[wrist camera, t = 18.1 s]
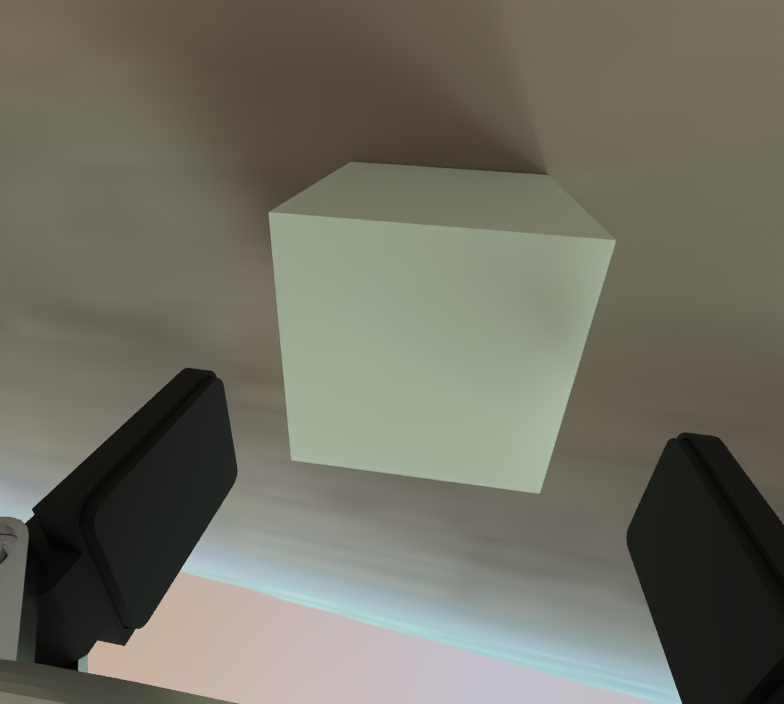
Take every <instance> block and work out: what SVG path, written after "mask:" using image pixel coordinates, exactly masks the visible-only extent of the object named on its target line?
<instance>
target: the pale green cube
mask: <svg viewBox="0 0 784 704" xmlns="http://www.w3.org/2000/svg"><path fill="white" fill-rule="evenodd" d="M268 213H269V224H270V235H271V246H272V257H273V267H274V278H275V289H276V300H277V311H278V322H279V332H280V343H281V354H282V365H283V376H284V386H285V397H286V408H287V419H288V430H289V440H290V451H291V460H293V461H301V462H308V463H316V464H323V465H331V466H338V467H345V468H353V469H360V470H368V471H375V472H382V473H390V474H397V475H405V476H412V477H419V478H427V479H434V480H442V481H449V482H457V483H464V484H471V485H479V486H486V487H494V488H501V489H508V490H516V491H523V492H531V493H538V494H540V492H541V488H542V485H543V482H544V478H545V475H546V472H547V468H548V465H549V462H550V458H551V455H552V452H553V448H554V445H555V442H556V439H557V435H558V432H559V429H560V425H561V422H562V419H563V415H564V412H565V409H566V405H567V402H568V399H569V395H570V392H571V389H572V385H573V382H574V379H575V376H576V372H577V369H578V366H579V362H580V359H581V356H582V352H583V349H584V346H585V342H586V339H587V336H588V332H589V329H590V326H591V322H592V319H593V316H594V313H595V309H596V306H597V303H598V299H599V296H600V293H601V289H602V286H603V283H604V279H605V276H606V273H607V269H608V266H609V263H610V259H611V256H612V253H613V250H614V246H615V243H616V239H614V238H613V237H612V236H611V235H610V234H609V233H608V232H607V231H606V230H605V229H604V228H603V227H602V226H601V225H600V224H599V223H598V222H597V221H596V220H595V219H594V218H593V217H592V216H591V215H590V214H589V213H588V212H587V211H586V210H584V209H583V208H582V207H581V206H580V205H579V204H578V203H577V202H576V201H575V200H574V199H573V198H572V197H571V196H570V195H569V194H568V193H567V192H566V191H565V190H564V189H563V188H562V187H561V186H560V185H559V184H558V183H557V182H556V181H554V180H553V179H552V178H551V177H550V176H549V175H540V174H526V173H511V172H497V171H482V170H467V169H453V168H438V167H424V166H409V165H394V164H380V163H365V162H349V163H348V164H346V165H344V166H343V167H341V168H339V169H338V170H336V171H335V172H333V173H331V174H330V175H328V176H326V177H325V178H323V179H322V180H320V181H318V182H317V183H315V184H313V185H312V186H310V187H308V188H307V189H305V190H304V191H302V192H300V193H299V194H297V195H295V196H294V197H292V198H291V199H289V200H287V201H286V202H284V203H282V204H281V205H279V206H278V207H276V208H274V209H273V210H271V211H269V212H268Z"/></svg>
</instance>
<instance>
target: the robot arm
mask: <svg viewBox="0 0 784 704" xmlns="http://www.w3.org/2000/svg"><path fill="white" fill-rule="evenodd" d="M236 477H237V463H236V457H235V451H234V445H233V439H232V433H231V427H230V421H229V415H228V409H227V403H226V397H225V391H224V385H223V382H222V380H221V379H219V378H217V377H216V374H215V373H214V372H213V371H209V370H201V369H193V368H185V369H183V370H182V371H181V372H180V373H179V374H178V375H176V376H175V377H174V378H173V379H172V380H171V381H170V382H169V383H168V384H167V385H166V386H165V387H163V388H162V389H161V390H160V391H159V392H158V393H157V394H156V395H155V396H154V397H153V398H152V399H150V400H149V401H148V402H147V403H146V404H145V405H144V406H143V407H142V408H141V409H140V410H139V411H138V412H136V413H135V414H134V415H133V416H132V417H131V418H130V419H129V420H128V421H127V422H126V423H125V424H123V425H122V426H121V427H120V428H119V429H118V430H117V431H116V432H115V433H114V434H113V435H112V436H110V437H109V438H108V439H107V440H106V441H105V442H104V443H103V444H102V445H101V446H100V447H99V448H97V449H96V450H95V451H94V452H93V453H92V454H91V455H90V456H89V457H88V458H87V459H86V460H84V461H83V462H82V463H81V464H80V465H79V466H78V467H77V468H76V469H75V470H74V471H73V472H72V473H70V474H69V475H68V476H67V477H66V478H65V479H64V480H63V481H62V482H61V483H60V484H59V485H57V486H56V487H55V488H54V489H53V490H52V491H51V492H50V493H49V494H48V495H47V496H46V497H44V498H43V499H42V500H41V501H40V502H39V503H38V504H37V505H36V506H35V507H34V508H33V509H32V510H33V512H34V514H35V515H34V516H33V517H32V518H31V519H30V520H28V521H27V522H26V523H25V524H24V523H23V522H22V521H21V520H19V519H16V518H12V517H0V704H237V703H232V702H228V701H223V700H218V699H213V698H209V697H204V696H199V695H194V694H190V693H185V692H180V691H175V690H171V689H166V688H160V687H156V686H152V685H147V684H142V683H137V682H133V681H127V680H122V679H117V678H111V677H106V676H101V675H96V674H90V673H88V663H87V662H88V659H87V654H88V653H89V651H90V650H91V649H92V647H93V646H94V644H95V643H96V641H97V640H98V641H103V642H108V643H113V644H118V645H122V646H125V645H126V643H127V642H128V640H129V638H130V637H131V635H132V634H133V632H134V631H135V629H140V628H142V627H143V626H144V625H145V624H146V623H147V622H148V620H149V619H150V618H151V616H152V615H153V613H154V611H155V610H156V608H157V606H158V605H159V603H160V602H161V600H162V598H163V597H164V595H165V594H166V592H167V590H168V589H169V587H170V586H171V584H172V582H173V581H174V579H175V578H176V576H177V574H178V573H179V571H180V570H181V568H182V566H183V565H184V563H185V562H186V560H187V558H188V557H189V555H190V554H191V552H192V550H193V549H194V547H195V546H196V544H197V542H198V541H199V539H200V538H201V536H202V534H203V533H204V531H205V530H206V528H207V526H208V525H209V523H210V522H211V520H212V518H213V517H214V515H215V514H216V512H217V510H218V509H219V507H220V506H221V504H222V502H223V501H224V499H225V498H226V496H227V494H228V493H229V491H230V490H231V488H232V486H233V485H234V483H235V480H236ZM627 546H628V549H629V552H630V555H631V558H632V561H633V564H634V567H635V569H636V572H637V575H638V578H639V581H640V584H641V587H642V590H643V592H644V595H645V598H646V601H647V604H648V607H649V610H650V613H651V615H652V618H653V621H654V624H655V627H656V630H657V633H658V636H659V638H660V641H661V644H662V647H663V650H664V653H665V656H666V659H667V661H668V664H669V667H670V670H671V673H672V676H673V679H674V682H675V685H676V687H677V690H678V693H679V696H680V699H681V702H682V704H784V525H783V524H782V522H781V521H780V520H779V518H778V517H777V515H776V514H775V513H774V511H773V510H772V509H771V507H770V506H769V505H768V503H767V502H766V500H765V499H764V498H763V496H762V495H761V494H760V492H759V491H758V490H757V488H756V487H755V485H754V484H753V483H752V481H751V480H750V479H749V477H748V476H747V475H746V473H745V472H744V470H743V469H742V468H741V466H740V465H739V464H738V462H737V461H736V460H735V458H734V457H733V455H732V454H731V453H730V451H729V450H728V449H727V447H726V446H725V445H724V443H723V442H722V441H721V440H720V439H719V438H718V437H715V436H710V435H702V434H694V433H686V432H685V433H681V434H680V435H679V436H678V437H677V439H676V438H672V439H670V440H669V441H668V442H667V444H666V446H665V448H664V450H663V453H662V455H661V457H660V459H659V461H658V464H657V466H656V468H655V470H654V472H653V475H652V477H651V479H650V481H649V483H648V486H647V488H646V490H645V492H644V494H643V497H642V499H641V501H640V503H639V505H638V508H637V510H636V512H635V514H634V516H633V519H632V521H631V523H630V525H629V527H628V530H627Z"/></svg>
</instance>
